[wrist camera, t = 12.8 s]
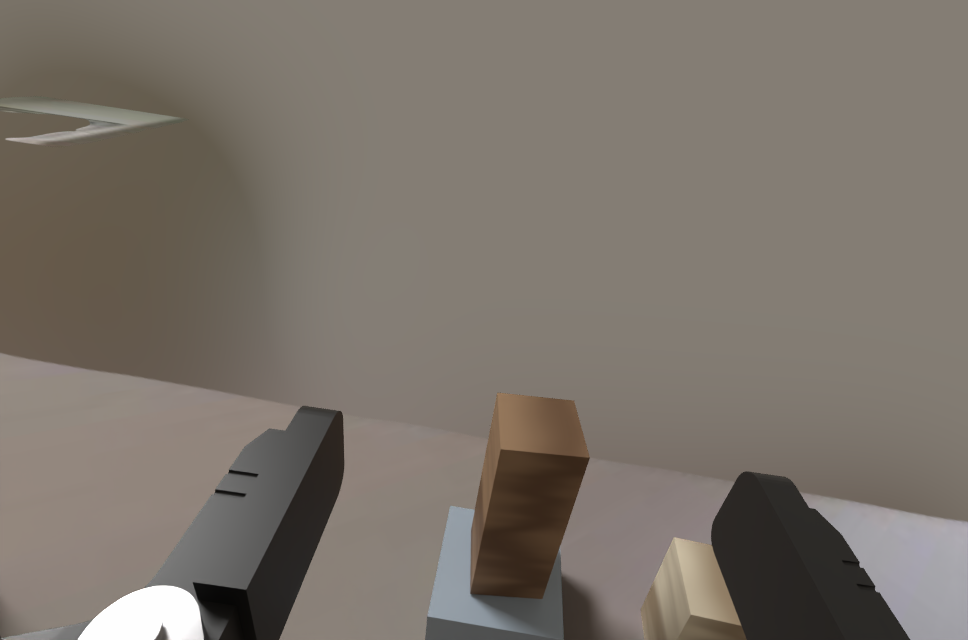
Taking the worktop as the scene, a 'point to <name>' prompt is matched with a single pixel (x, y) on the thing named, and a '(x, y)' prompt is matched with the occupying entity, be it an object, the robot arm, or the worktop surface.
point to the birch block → (690, 598)
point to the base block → (486, 597)
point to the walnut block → (525, 494)
